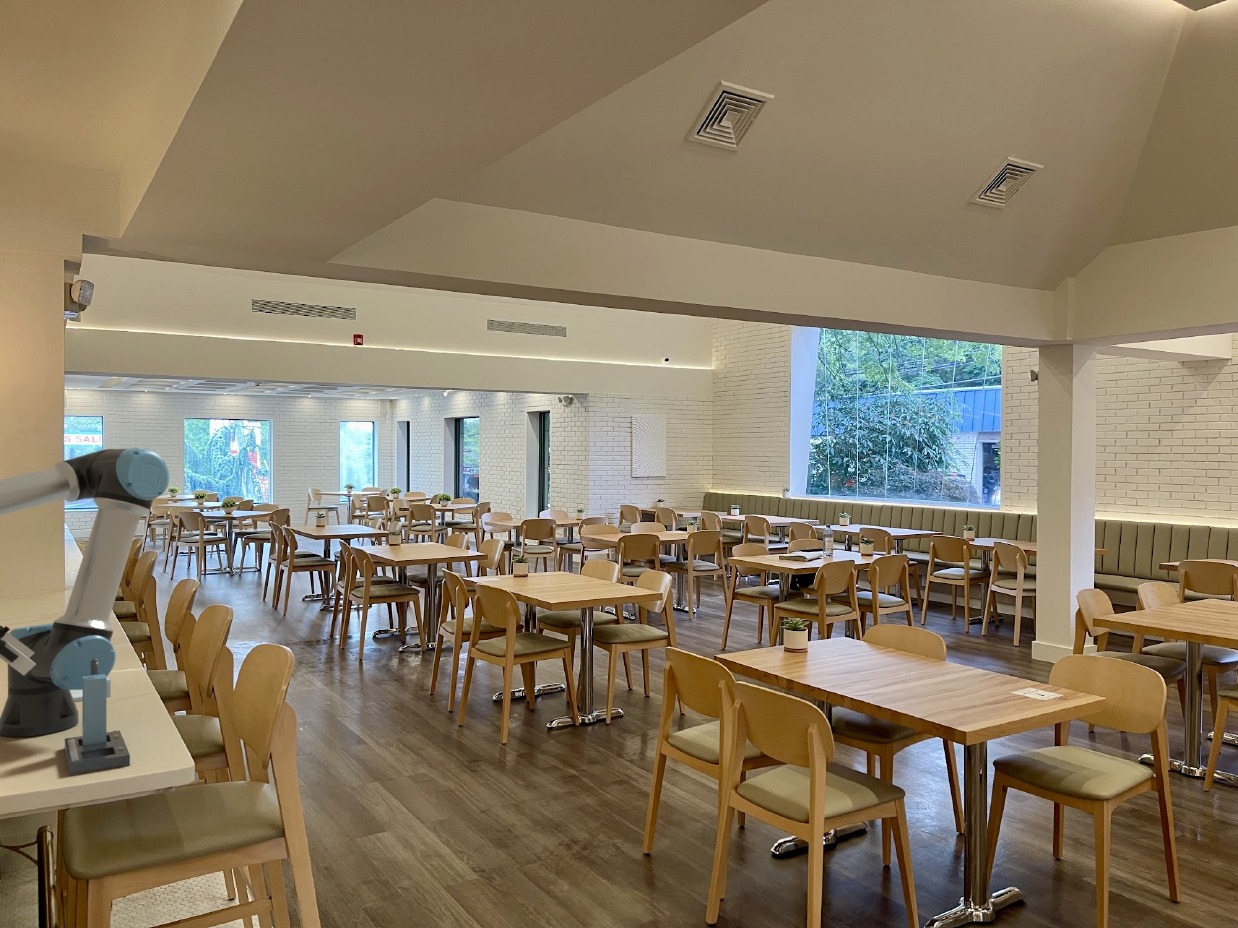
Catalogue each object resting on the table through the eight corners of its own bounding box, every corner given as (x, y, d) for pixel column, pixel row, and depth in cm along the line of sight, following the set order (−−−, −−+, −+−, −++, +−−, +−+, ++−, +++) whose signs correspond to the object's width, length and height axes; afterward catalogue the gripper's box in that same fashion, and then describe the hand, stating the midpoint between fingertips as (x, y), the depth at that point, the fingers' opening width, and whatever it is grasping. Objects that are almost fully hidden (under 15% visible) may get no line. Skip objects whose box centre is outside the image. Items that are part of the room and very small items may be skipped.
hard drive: (62, 689, 231) (67, 698, 221) (98, 684, 236) (105, 693, 226) (62, 695, 231) (67, 705, 221) (98, 690, 236) (105, 699, 226)
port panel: (64, 748, 184) (64, 737, 184) (119, 739, 190) (119, 728, 190) (69, 775, 168) (69, 762, 168) (129, 765, 173) (129, 753, 173)
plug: (82, 749, 183) (82, 658, 184) (109, 745, 186) (109, 655, 186) (83, 754, 180) (83, 661, 180) (110, 750, 183) (110, 658, 183)
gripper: (-77, 600, 177) (13, 667, 185) (-89, 616, 157) (13, 691, 165) (-44, 572, 180) (43, 639, 188) (-51, 584, 160) (47, 659, 168)
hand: (29, 663), depth 177 cm, fingers open, 13 cm apart
